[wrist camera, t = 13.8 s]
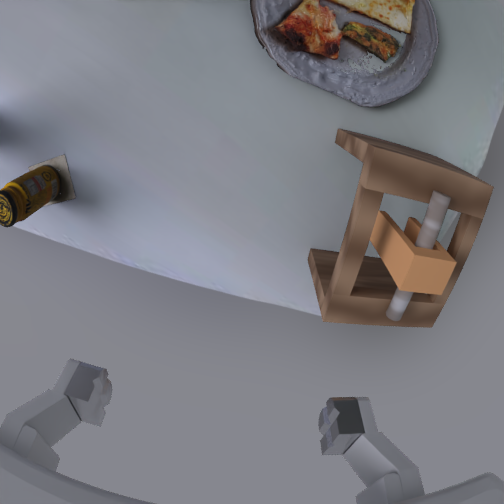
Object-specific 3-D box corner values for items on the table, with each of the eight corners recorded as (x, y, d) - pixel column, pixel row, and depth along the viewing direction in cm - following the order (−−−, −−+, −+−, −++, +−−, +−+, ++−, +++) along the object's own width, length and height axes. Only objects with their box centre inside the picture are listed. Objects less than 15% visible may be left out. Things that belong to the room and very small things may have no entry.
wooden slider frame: (337, 128, 37) (383, 151, 23) (436, 156, 38) (504, 193, 24) (307, 259, 47) (325, 333, 33) (397, 271, 47) (437, 337, 33)
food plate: (226, 57, 33) (223, 53, 30) (284, -73, 22) (287, -84, 19) (399, 128, 37) (410, 132, 34) (442, 4, 26) (455, 0, 23)
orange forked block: (378, 210, 35) (414, 254, 25) (415, 218, 35) (456, 262, 26) (369, 239, 37) (399, 290, 27) (405, 245, 37) (441, 295, 28)
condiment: (29, 167, 39) (-19, 192, 29) (65, 154, 39) (16, 177, 28) (40, 206, 43) (-2, 239, 32) (76, 197, 42) (33, 231, 32)
